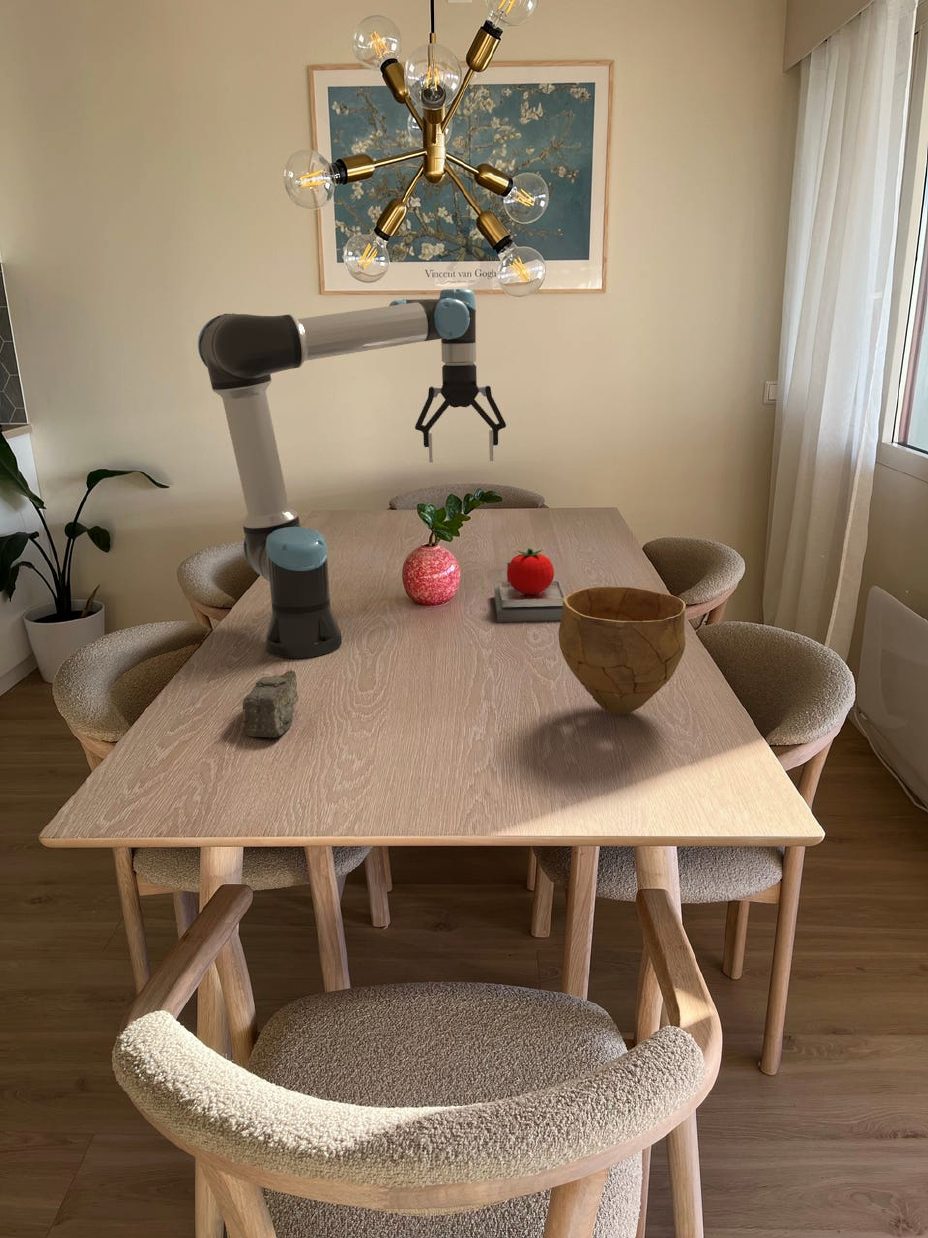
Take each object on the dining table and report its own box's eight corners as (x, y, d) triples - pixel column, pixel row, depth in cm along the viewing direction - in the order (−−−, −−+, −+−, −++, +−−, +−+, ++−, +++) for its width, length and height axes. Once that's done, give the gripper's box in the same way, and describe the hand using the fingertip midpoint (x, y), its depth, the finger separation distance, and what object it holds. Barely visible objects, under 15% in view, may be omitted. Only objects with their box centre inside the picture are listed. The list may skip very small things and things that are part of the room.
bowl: (554, 690, 166) (555, 582, 160) (669, 689, 165) (674, 580, 159) (562, 742, 146) (563, 621, 140) (692, 741, 146) (700, 620, 139)
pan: (566, 608, 202) (567, 598, 201) (502, 609, 202) (502, 600, 201) (559, 589, 215) (559, 580, 214) (499, 590, 215) (499, 581, 214)
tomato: (546, 602, 202) (546, 557, 198) (500, 598, 205) (500, 554, 202) (559, 588, 211) (560, 545, 208) (515, 585, 214) (515, 542, 211)
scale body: (571, 619, 202) (572, 580, 199) (497, 621, 202) (497, 581, 199) (562, 595, 219) (562, 558, 216) (494, 596, 219) (493, 559, 216)
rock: (238, 680, 162) (293, 661, 162) (252, 714, 164) (306, 695, 165) (231, 717, 146) (293, 696, 146) (247, 755, 148) (307, 734, 148)
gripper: (515, 361, 208) (515, 456, 214) (402, 363, 208) (406, 459, 214) (517, 363, 201) (517, 462, 207) (401, 365, 200) (405, 464, 207)
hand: (461, 461), depth 211 cm, fingers open, 13 cm apart
